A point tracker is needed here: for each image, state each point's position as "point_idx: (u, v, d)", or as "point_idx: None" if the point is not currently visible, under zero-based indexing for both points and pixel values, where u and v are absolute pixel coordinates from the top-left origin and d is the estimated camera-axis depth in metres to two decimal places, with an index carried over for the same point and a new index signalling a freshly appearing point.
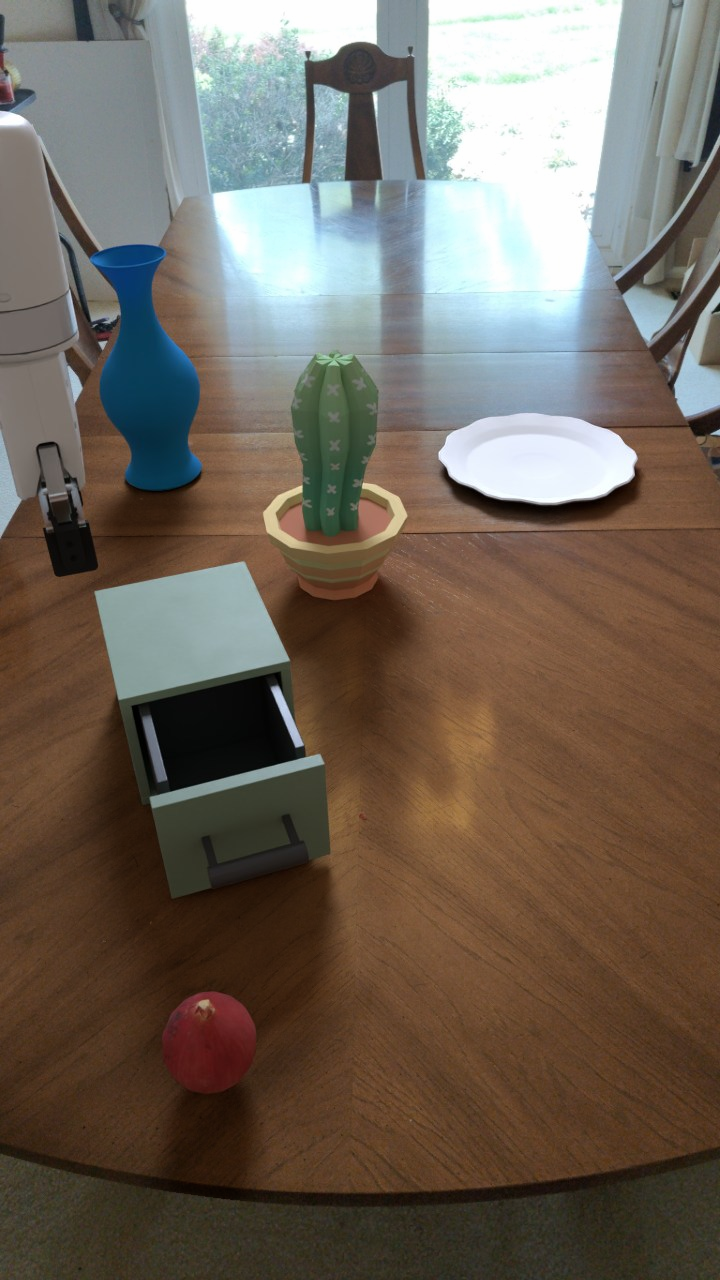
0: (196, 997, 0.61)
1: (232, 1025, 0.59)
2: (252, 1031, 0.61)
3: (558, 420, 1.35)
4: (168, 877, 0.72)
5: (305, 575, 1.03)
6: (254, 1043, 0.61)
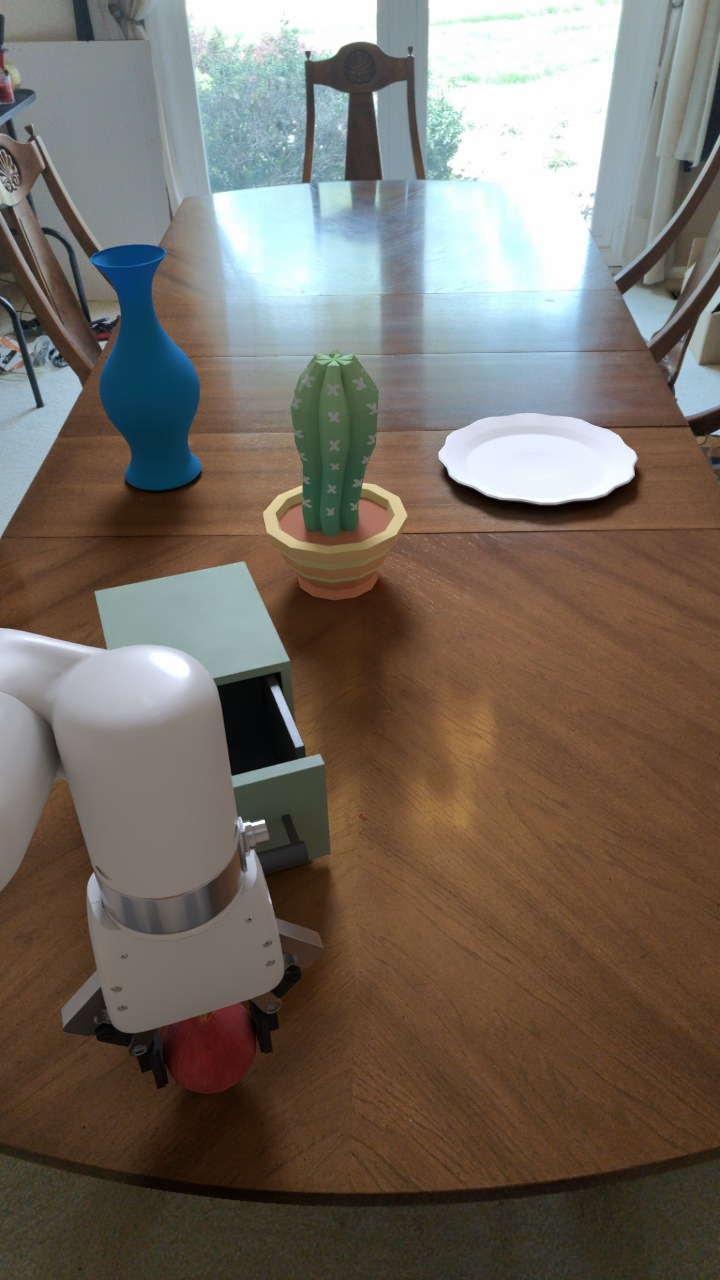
0: None
1: (232, 1025, 0.59)
2: (252, 1031, 0.61)
3: (558, 420, 1.35)
4: None
5: (305, 575, 1.03)
6: (254, 1043, 0.61)
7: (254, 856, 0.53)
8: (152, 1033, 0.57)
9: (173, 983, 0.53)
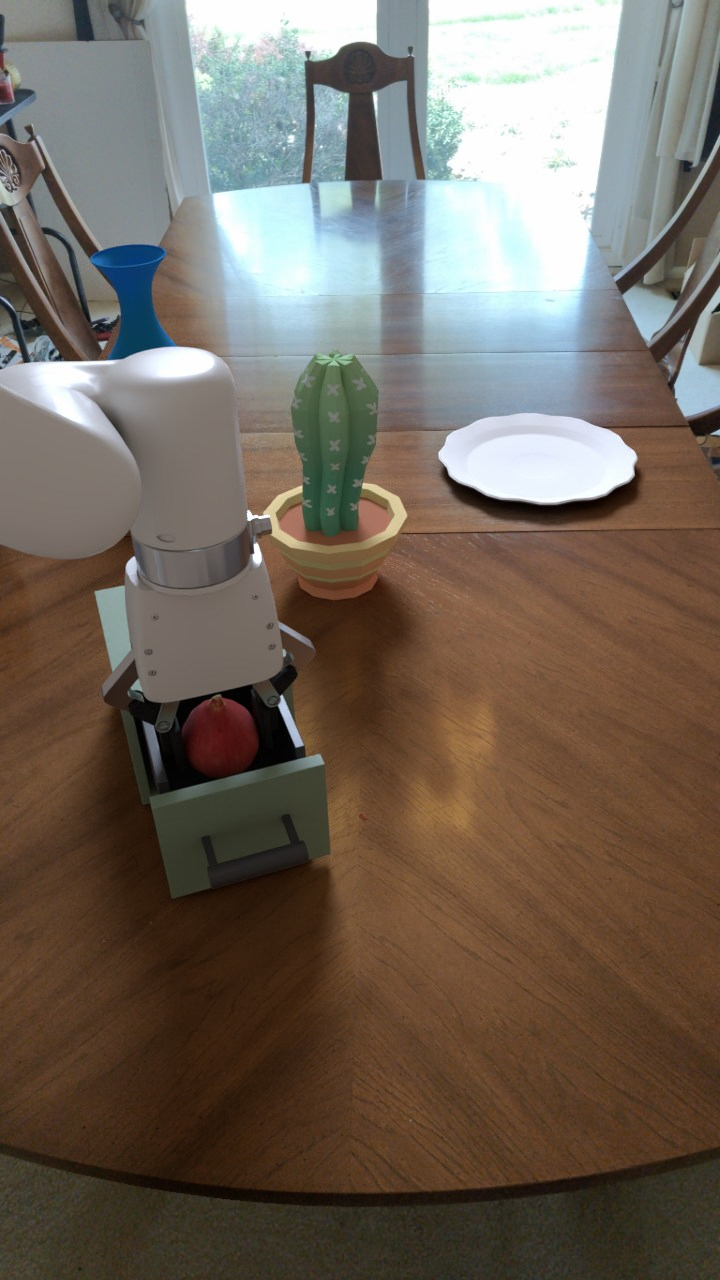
0: (210, 699, 0.73)
1: (240, 717, 0.72)
2: (256, 729, 0.74)
3: (558, 420, 1.35)
4: (168, 877, 0.72)
5: (305, 575, 1.03)
6: (257, 738, 0.73)
7: (259, 550, 0.66)
8: (175, 710, 0.69)
9: (193, 651, 0.65)
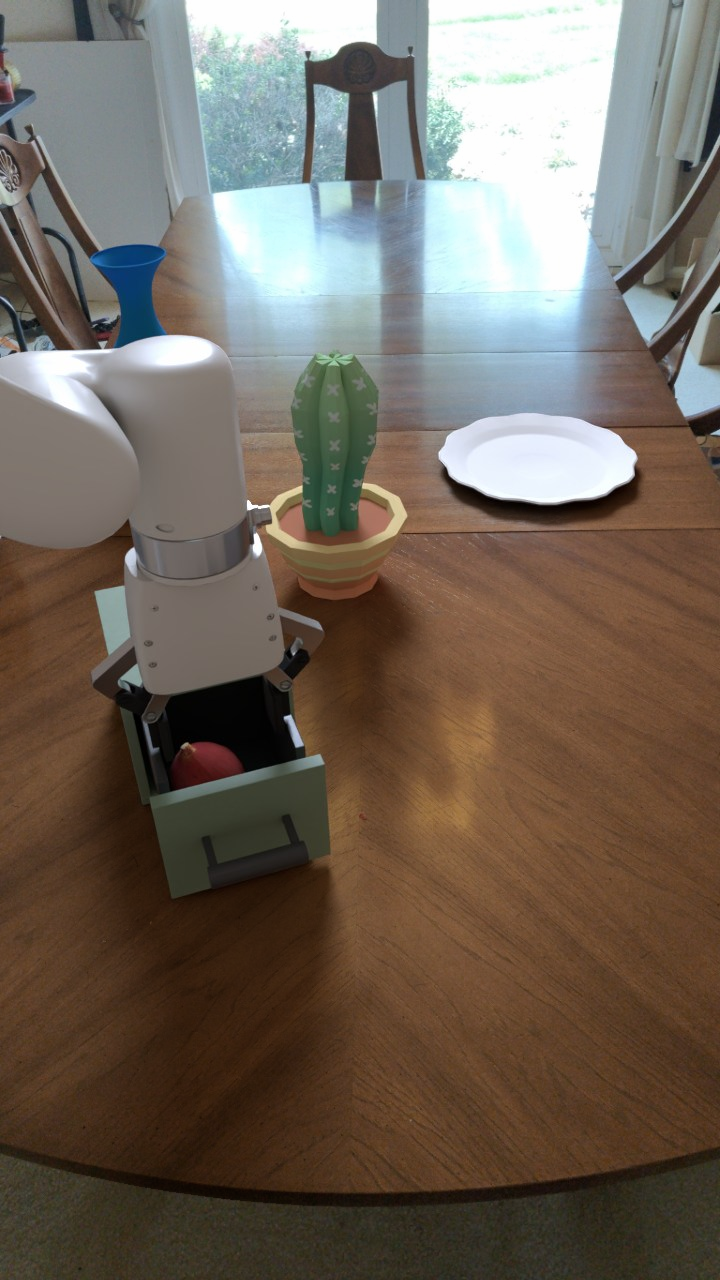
0: None
1: (212, 758, 0.74)
2: (235, 763, 0.75)
3: (558, 420, 1.35)
4: (168, 877, 0.72)
5: (305, 575, 1.03)
6: (239, 772, 0.75)
7: (259, 540, 0.65)
8: (165, 702, 0.69)
9: (194, 643, 0.65)
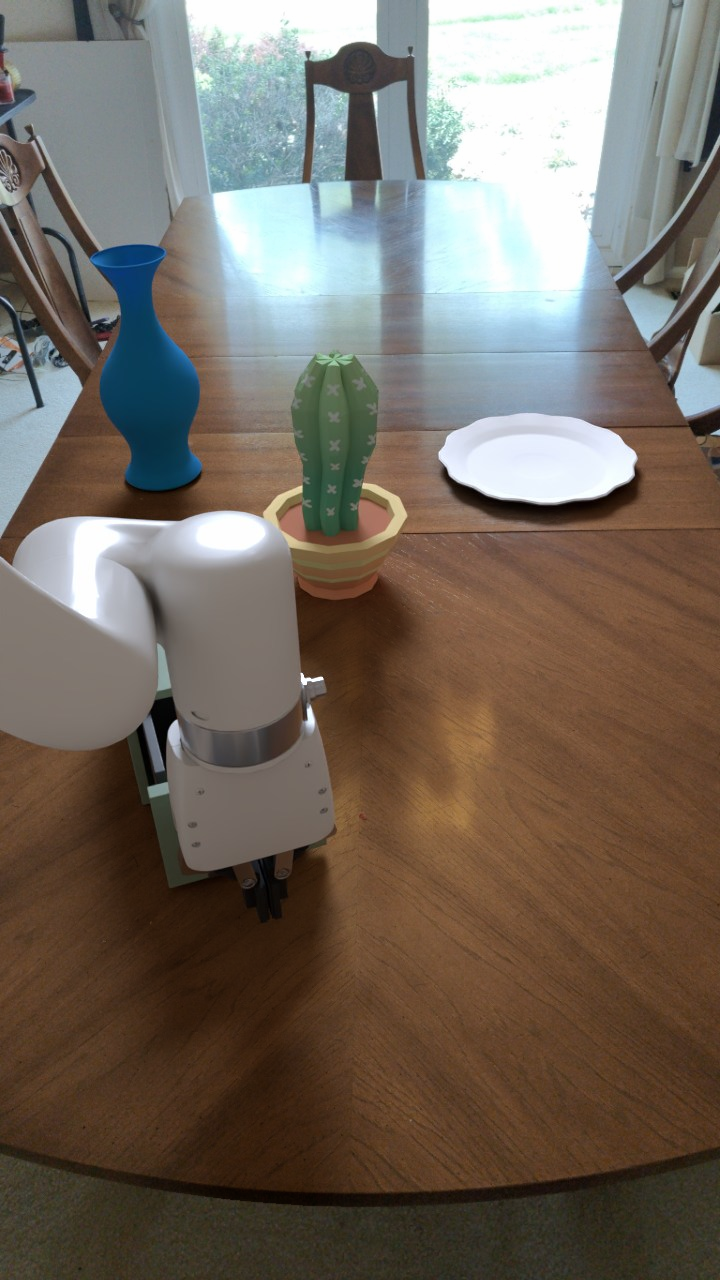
0: None
1: None
2: None
3: (558, 420, 1.35)
4: (166, 867, 0.73)
5: (305, 575, 1.03)
6: None
7: (312, 711, 0.61)
8: (250, 867, 0.65)
9: (241, 822, 0.60)
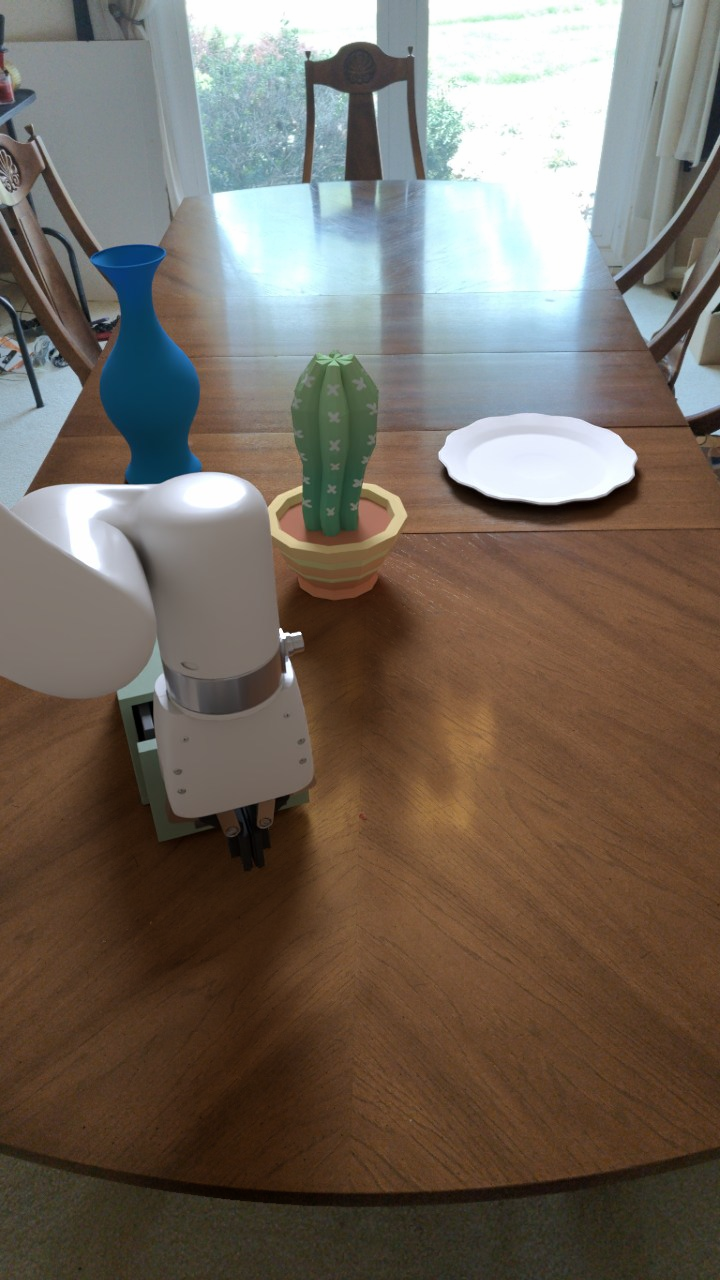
0: None
1: None
2: None
3: (558, 420, 1.35)
4: (155, 821, 0.76)
5: (305, 575, 1.03)
6: None
7: (291, 666, 0.64)
8: (233, 815, 0.68)
9: (224, 770, 0.64)
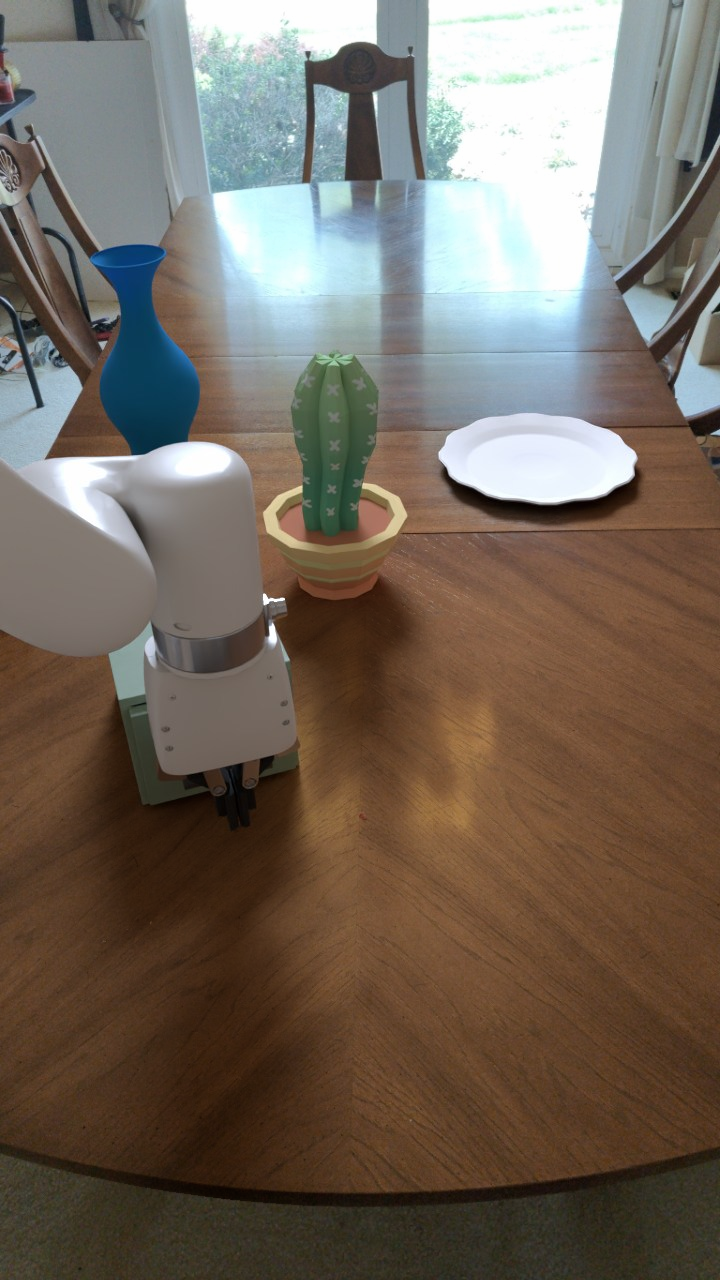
0: None
1: None
2: None
3: (558, 420, 1.35)
4: (146, 784, 0.80)
5: (305, 575, 1.03)
6: None
7: (275, 630, 0.67)
8: (219, 775, 0.71)
9: (209, 728, 0.67)
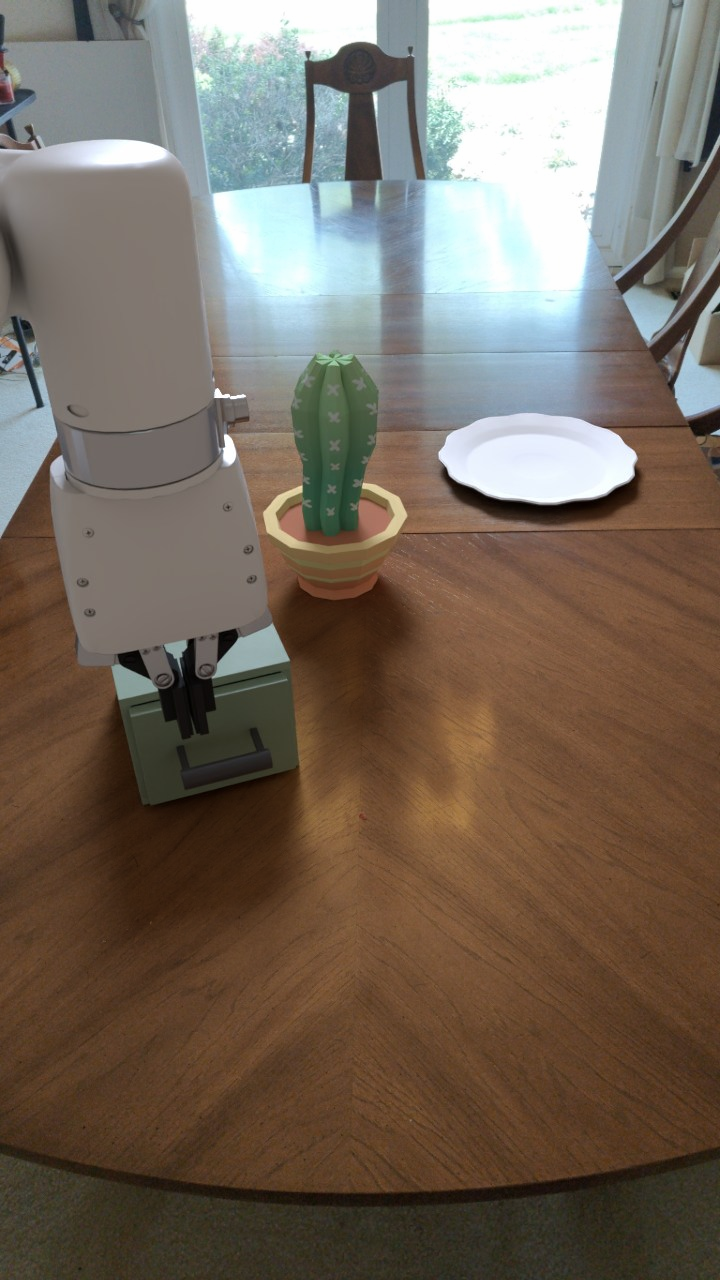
0: None
1: None
2: None
3: (558, 420, 1.35)
4: (146, 784, 0.80)
5: (305, 575, 1.03)
6: None
7: (233, 445, 0.49)
8: (163, 657, 0.53)
9: (145, 583, 0.48)
